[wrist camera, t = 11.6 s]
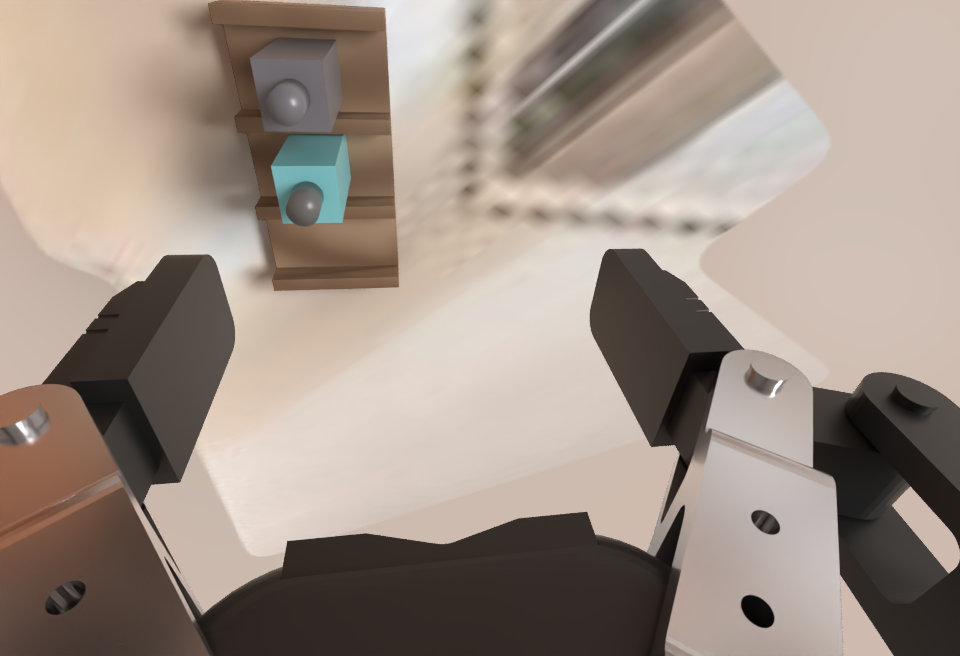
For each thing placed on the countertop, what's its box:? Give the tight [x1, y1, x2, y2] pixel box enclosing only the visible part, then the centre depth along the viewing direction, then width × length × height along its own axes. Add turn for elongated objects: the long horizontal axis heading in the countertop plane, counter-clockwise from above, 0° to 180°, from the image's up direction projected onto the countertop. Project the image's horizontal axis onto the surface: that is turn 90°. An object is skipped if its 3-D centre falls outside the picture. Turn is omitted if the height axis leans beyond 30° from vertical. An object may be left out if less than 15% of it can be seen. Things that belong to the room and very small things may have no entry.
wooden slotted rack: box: [208, 0, 399, 291], centre depth 36 cm, size 20×10×3 cm, turn 177°
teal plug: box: [271, 134, 351, 227], centre depth 32 cm, size 4×4×10 cm
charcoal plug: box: [250, 37, 343, 132], centre depth 29 cm, size 4×4×10 cm
